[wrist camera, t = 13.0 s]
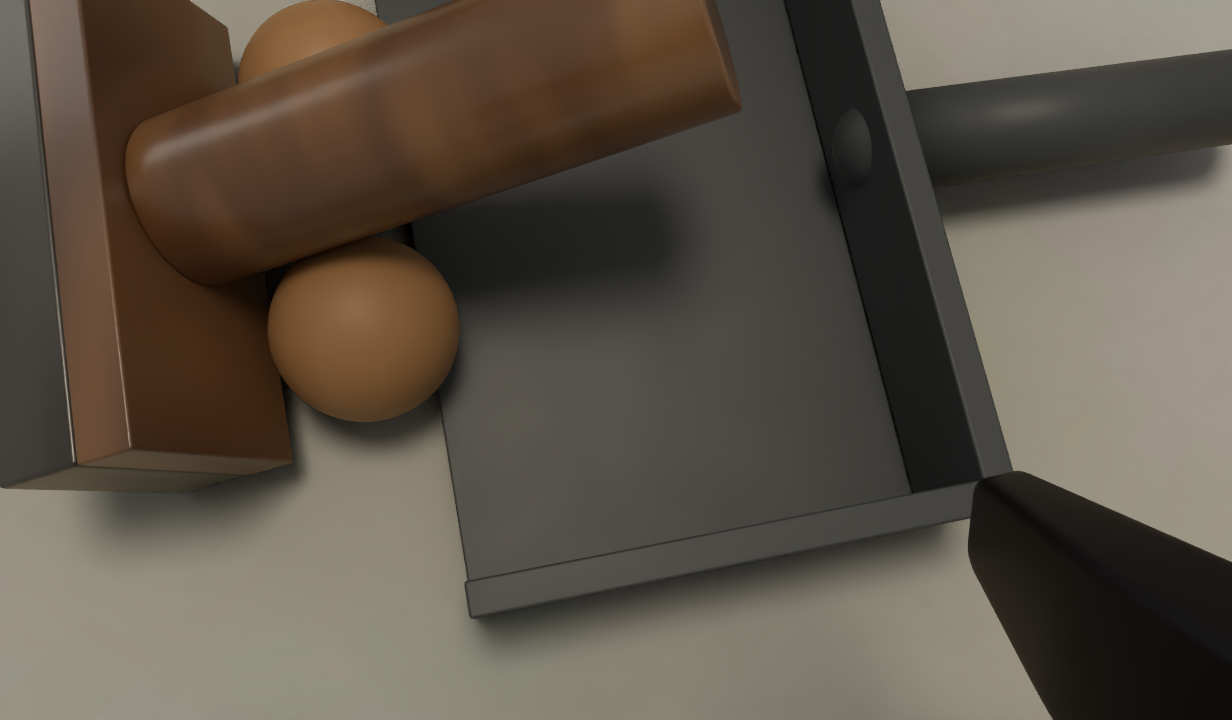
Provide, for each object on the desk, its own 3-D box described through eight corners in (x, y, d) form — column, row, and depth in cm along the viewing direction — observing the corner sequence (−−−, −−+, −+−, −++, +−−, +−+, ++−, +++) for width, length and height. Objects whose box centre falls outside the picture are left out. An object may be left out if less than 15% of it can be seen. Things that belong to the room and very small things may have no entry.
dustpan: (474, 617, 19) (469, 619, 16) (363, -76, 22) (340, -191, 19) (1322, 446, 22) (1463, 418, 19) (1113, -145, 25) (1203, -254, 22)
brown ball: (255, 222, 19) (438, 196, 19) (202, 39, 17) (405, 16, 17) (272, 154, 22) (431, 133, 22) (227, -9, 20) (402, -29, 20)
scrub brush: (180, 494, 19) (805, 321, 16) (-5, 489, 15) (769, 261, 12) (127, 68, 21) (676, -156, 18) (-50, -32, 17) (612, -337, 14)
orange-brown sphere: (281, 471, 17) (475, 441, 18) (228, 293, 16) (443, 263, 16) (304, 381, 20) (470, 356, 21) (262, 223, 19) (443, 200, 19)
